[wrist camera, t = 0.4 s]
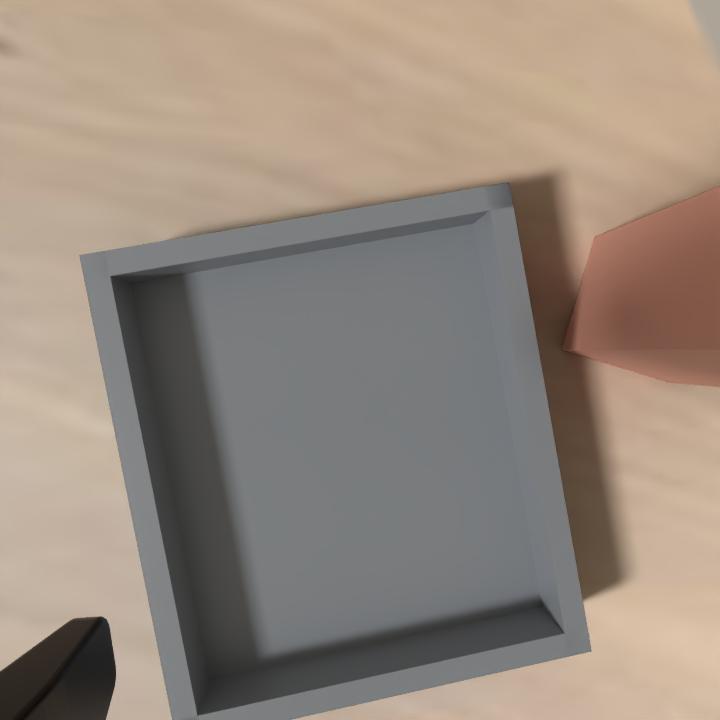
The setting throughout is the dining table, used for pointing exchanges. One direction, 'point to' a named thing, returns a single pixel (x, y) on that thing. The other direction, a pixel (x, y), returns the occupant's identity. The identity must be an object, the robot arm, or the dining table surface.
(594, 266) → the pink and gray block
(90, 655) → the robot arm
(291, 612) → the tray
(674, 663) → the dining table surface
